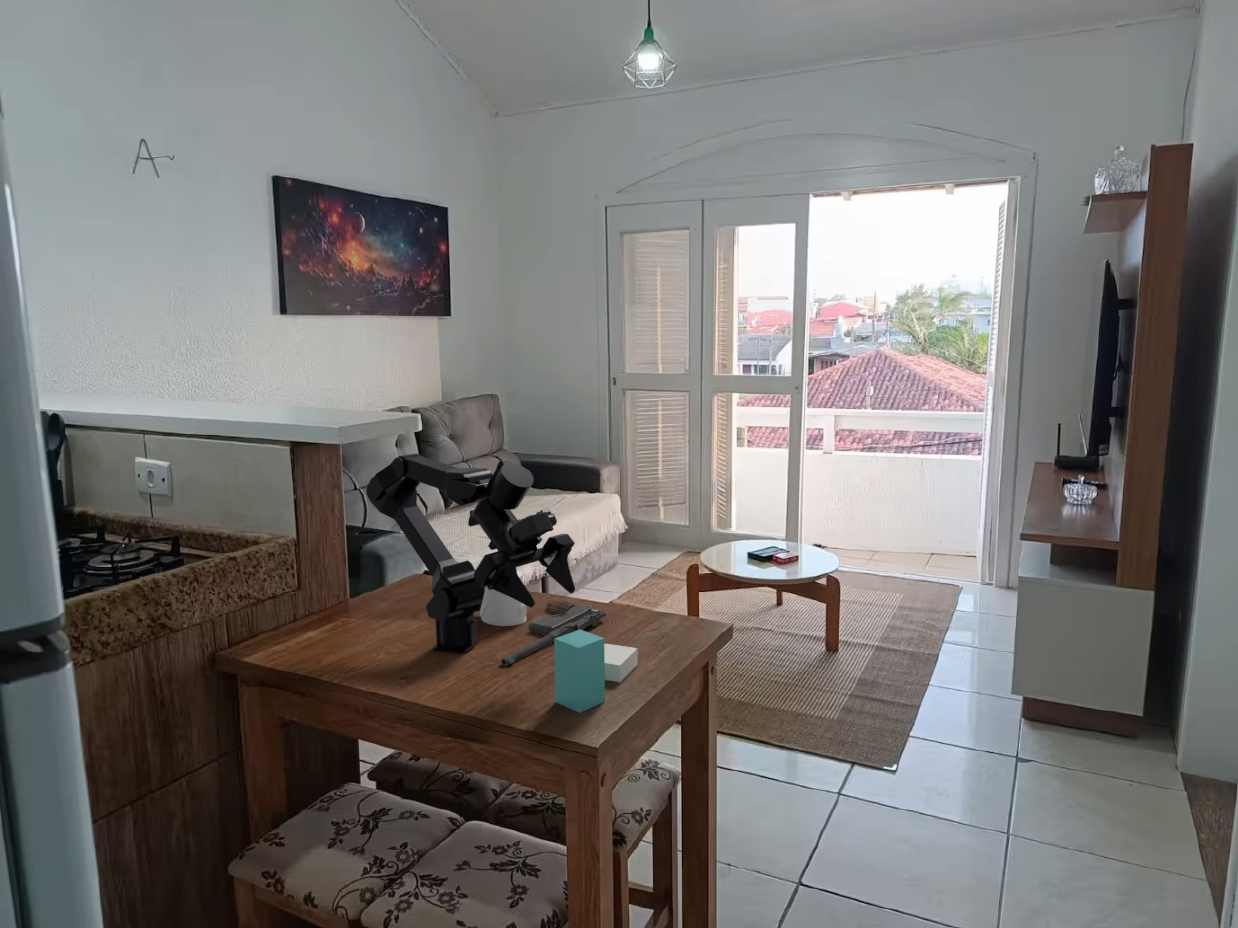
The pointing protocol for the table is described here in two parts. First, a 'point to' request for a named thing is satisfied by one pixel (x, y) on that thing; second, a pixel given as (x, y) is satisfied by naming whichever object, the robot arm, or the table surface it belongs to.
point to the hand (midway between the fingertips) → (553, 598)
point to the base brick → (619, 661)
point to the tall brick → (579, 670)
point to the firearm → (557, 625)
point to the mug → (502, 608)
